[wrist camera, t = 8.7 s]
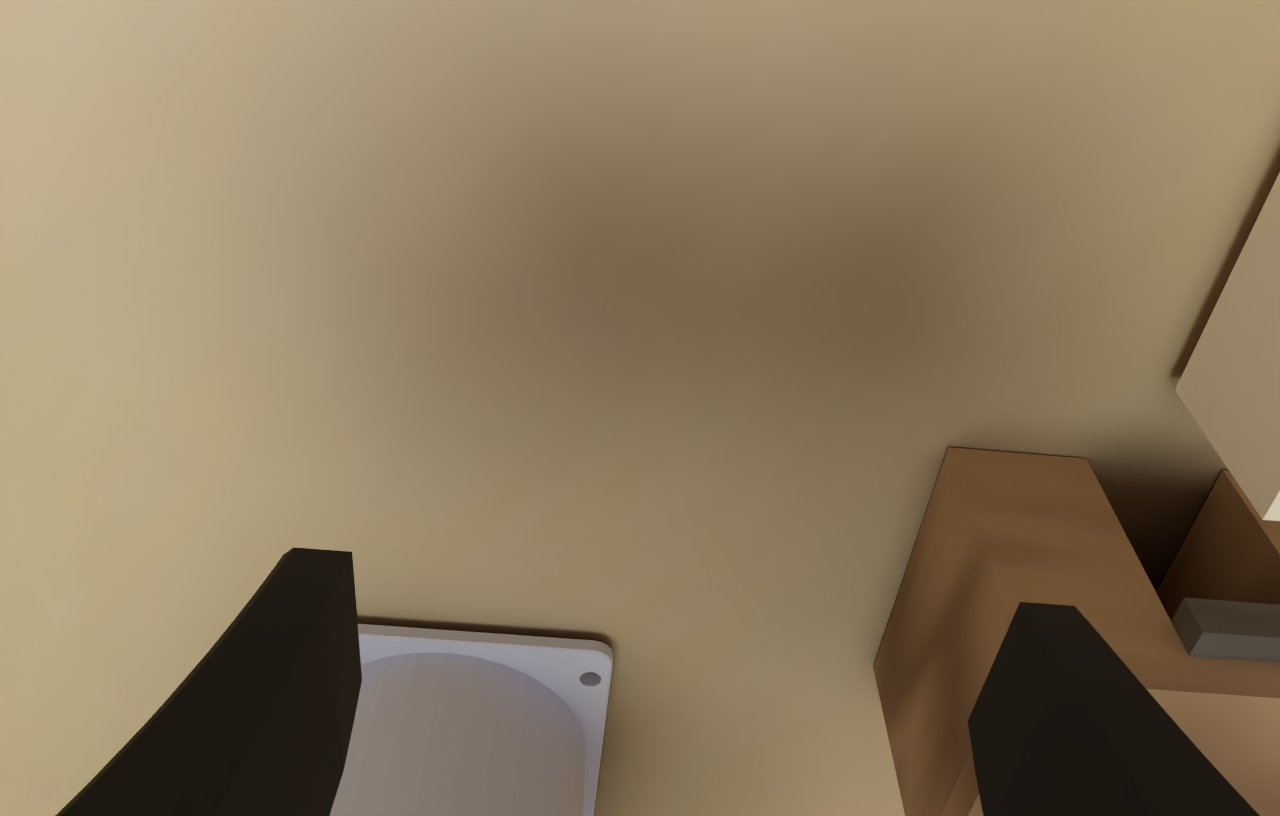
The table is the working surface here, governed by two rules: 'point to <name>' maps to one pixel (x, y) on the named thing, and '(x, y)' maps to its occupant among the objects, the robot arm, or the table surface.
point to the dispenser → (1104, 594)
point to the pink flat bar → (1244, 367)
